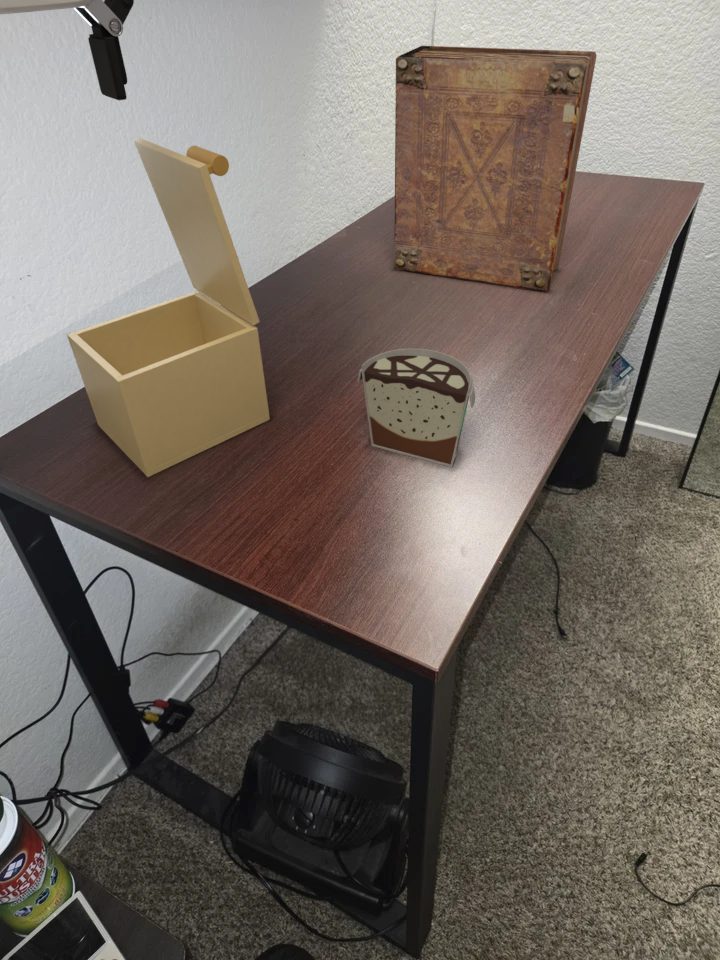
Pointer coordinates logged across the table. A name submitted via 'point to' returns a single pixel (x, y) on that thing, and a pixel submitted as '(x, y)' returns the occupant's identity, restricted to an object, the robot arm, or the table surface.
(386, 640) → the table surface
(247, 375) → the light wooden open box
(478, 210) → the book
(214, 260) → the lid
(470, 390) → the food container
